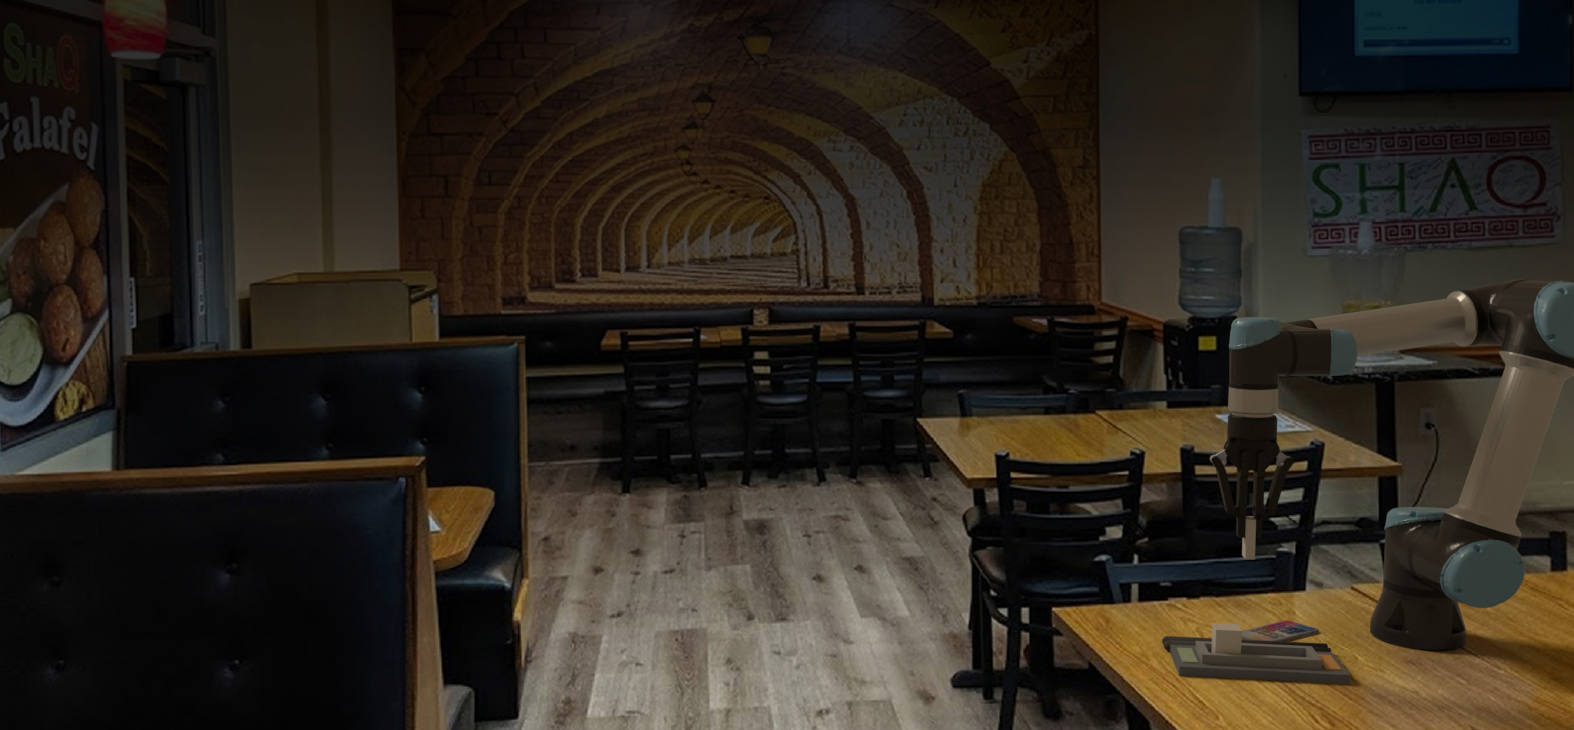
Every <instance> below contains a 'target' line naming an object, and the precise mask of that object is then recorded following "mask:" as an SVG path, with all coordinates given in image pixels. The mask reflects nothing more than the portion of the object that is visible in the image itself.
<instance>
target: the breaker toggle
mask: <svg viewBox="0 0 1574 730" xmlns="http://www.w3.org/2000/svg"><path fill="white" fill-rule="evenodd" d="M1211 625H1212V626H1211V638H1212V649H1211V653H1229V654H1241V640H1242V639H1241V638H1242V631H1243V630H1242V629H1241V628H1240V625H1239V624H1238V623H1217V622H1212V624H1211Z"/></svg>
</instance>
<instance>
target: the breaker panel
mask: <svg viewBox="0 0 1574 730" xmlns="http://www.w3.org/2000/svg"><path fill="white" fill-rule="evenodd" d="M1211 649H1212V642H1210V641H1196V646H1190V645H1170V651H1169V654H1170V656H1171V657H1170V658H1171V660H1172V661H1173V664H1174V666H1175V669H1176V671H1177V673H1178V675H1179V676H1183V677H1184V676H1185V677H1202V678H1203V677H1204V678H1220V679H1237V680H1238V679H1239V680H1240V679H1242V680H1259V681H1260V680H1261V681H1263V680H1264V681H1278V682H1279V681H1280V682H1282V681H1283V682H1296V683H1297V682H1298V683H1300V682H1301V683H1319V684H1336V685H1337V684H1339V685H1350V684H1351V674H1350V673H1349V671H1348V670H1347V669H1346V667H1344V665H1343V664H1342V662H1341V661H1340V660H1339V659H1338V658H1337V656H1336V654H1334V652H1332V651H1331V652H1316V651H1315V650H1314V649H1313V648H1312V646H1295V645H1274V644H1253V643H1241V654H1229V653H1211Z"/></svg>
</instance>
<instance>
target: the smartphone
mask: <svg viewBox="0 0 1574 730" xmlns="http://www.w3.org/2000/svg"><path fill="white" fill-rule="evenodd" d="M1241 631H1242V638H1241V640H1262V641H1283V642H1292V641H1294V640H1298V639H1301V638H1306V637H1310V636H1314V635H1317V634H1319V633H1320V630H1319V628H1316V627H1313V626H1309V625H1307V624H1302V623H1301V622H1300V623H1299V622H1296V621H1292V620H1282V621H1278V622H1273V623H1268V624H1266V625H1262V626H1257V627H1253V628H1248V629H1244V630H1241Z"/></svg>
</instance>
